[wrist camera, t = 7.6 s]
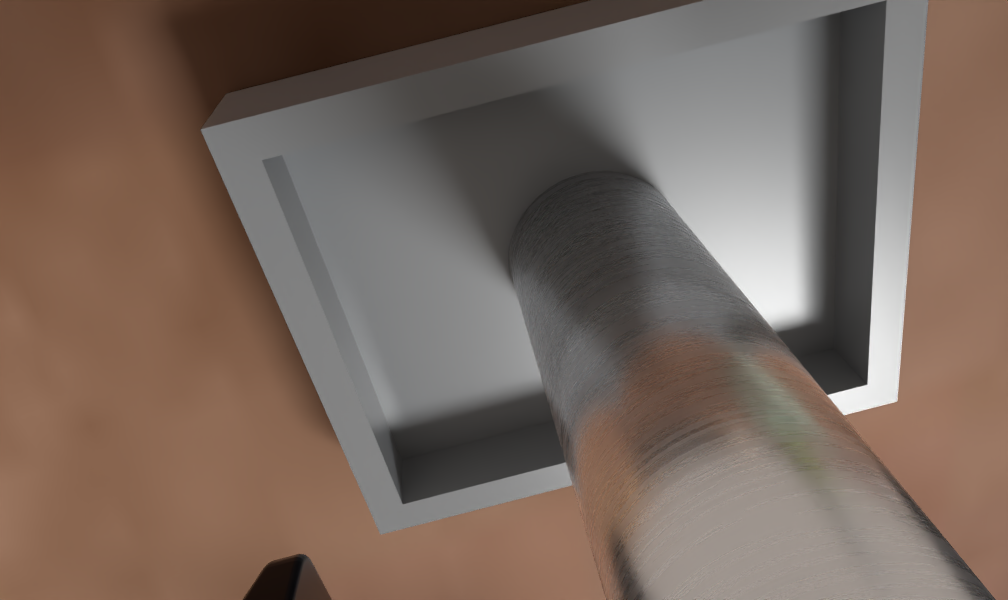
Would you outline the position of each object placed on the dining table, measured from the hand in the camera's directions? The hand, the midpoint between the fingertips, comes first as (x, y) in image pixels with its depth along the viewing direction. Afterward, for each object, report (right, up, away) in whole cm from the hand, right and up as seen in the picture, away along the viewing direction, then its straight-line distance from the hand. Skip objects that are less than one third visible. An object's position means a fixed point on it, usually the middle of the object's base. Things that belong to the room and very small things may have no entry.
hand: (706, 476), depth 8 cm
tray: (-1, +3, +5) cm, 6 cm away
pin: (-1, +3, +5) cm, 6 cm away
